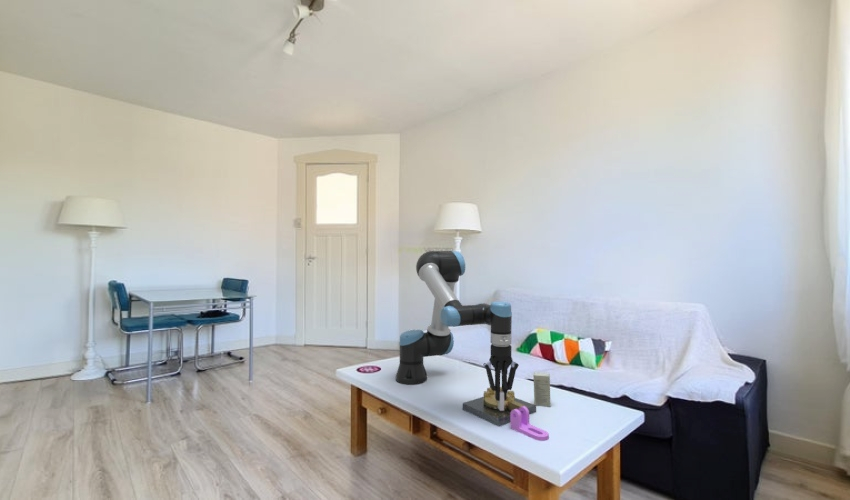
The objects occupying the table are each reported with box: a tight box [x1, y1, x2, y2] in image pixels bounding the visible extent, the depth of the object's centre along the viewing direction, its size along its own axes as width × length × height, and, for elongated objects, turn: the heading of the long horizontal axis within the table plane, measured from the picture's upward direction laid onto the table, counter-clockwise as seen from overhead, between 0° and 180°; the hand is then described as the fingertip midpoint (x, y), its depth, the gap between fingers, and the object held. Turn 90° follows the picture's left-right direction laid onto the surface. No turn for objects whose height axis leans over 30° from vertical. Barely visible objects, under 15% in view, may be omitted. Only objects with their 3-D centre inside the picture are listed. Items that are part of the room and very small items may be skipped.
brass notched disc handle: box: [482, 386, 527, 411], centre depth 147 cm, size 19×12×4 cm, turn 33°
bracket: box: [509, 406, 550, 442], centre depth 131 cm, size 13×6×7 cm, turn 37°
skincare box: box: [532, 371, 552, 407], centre depth 157 cm, size 6×4×12 cm
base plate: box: [462, 396, 537, 427], centre depth 149 cm, size 22×21×3 cm
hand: (500, 409), depth 141 cm, fingers closed
